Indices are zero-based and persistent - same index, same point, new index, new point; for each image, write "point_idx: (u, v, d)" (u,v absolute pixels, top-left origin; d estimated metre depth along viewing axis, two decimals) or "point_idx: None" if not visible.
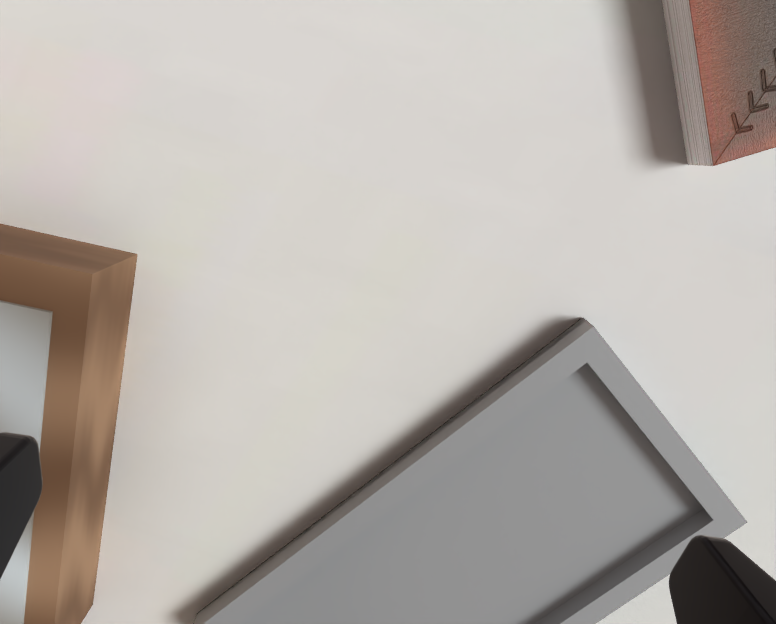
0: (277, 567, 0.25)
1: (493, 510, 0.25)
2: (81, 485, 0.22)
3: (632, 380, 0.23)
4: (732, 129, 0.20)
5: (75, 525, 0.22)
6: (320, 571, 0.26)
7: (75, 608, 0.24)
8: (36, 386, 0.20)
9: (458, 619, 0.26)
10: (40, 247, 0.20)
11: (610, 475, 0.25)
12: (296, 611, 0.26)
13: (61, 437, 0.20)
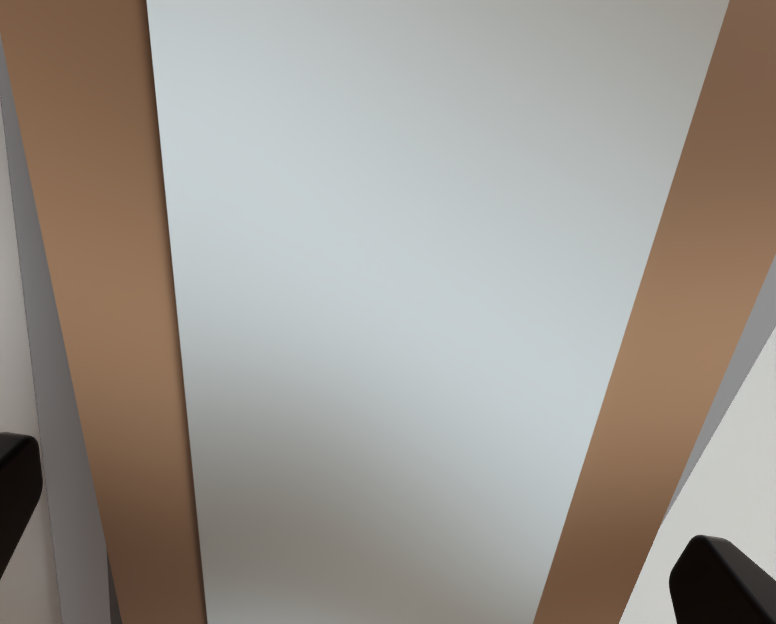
0: (60, 587, 0.12)
1: None
2: None
3: None
4: None
5: None
6: None
7: None
8: (596, 327, 0.05)
9: None
10: None
11: None
12: None
13: (636, 478, 0.06)
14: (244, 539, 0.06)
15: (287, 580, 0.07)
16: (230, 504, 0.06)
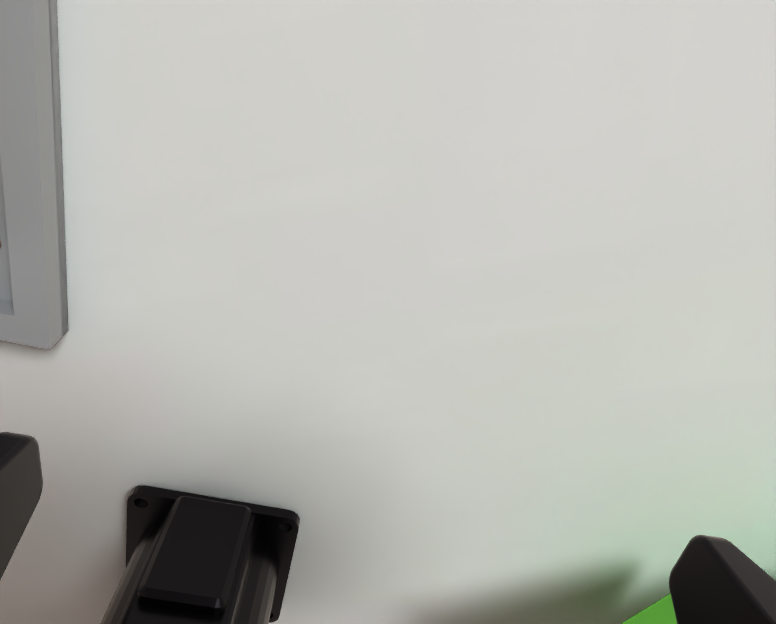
0: None
1: None
2: None
3: None
4: None
5: None
6: None
7: None
8: None
9: None
10: None
11: None
12: None
13: None
14: None
15: None
16: None
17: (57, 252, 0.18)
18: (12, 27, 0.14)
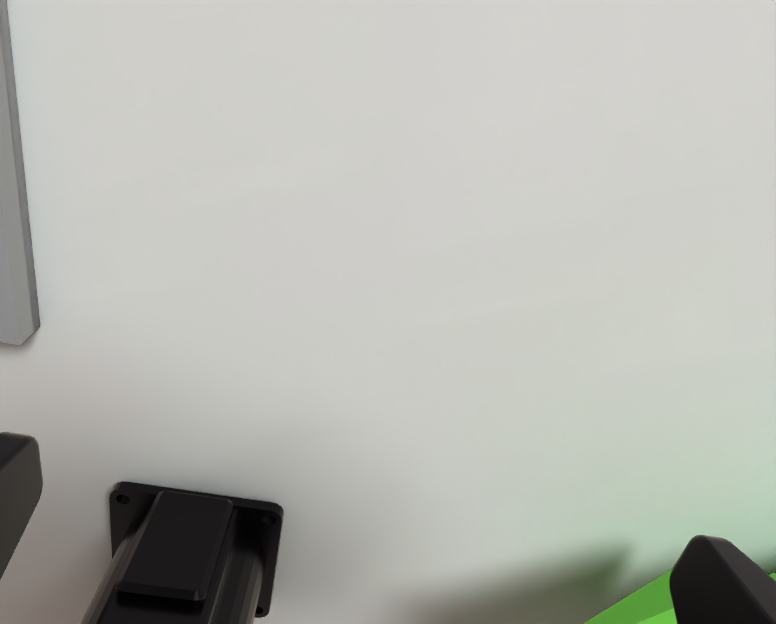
0: None
1: None
2: None
3: None
4: None
5: None
6: None
7: None
8: None
9: None
10: None
11: None
12: None
13: None
14: None
15: None
16: None
17: (22, 246, 0.18)
18: None
